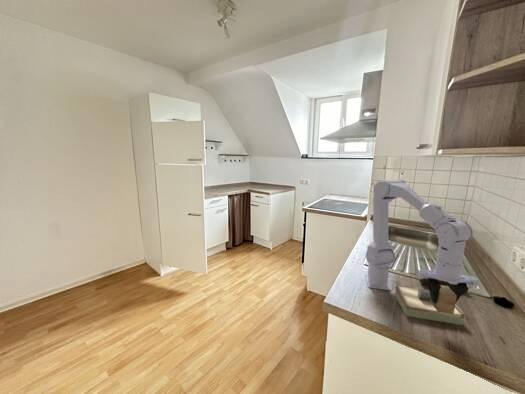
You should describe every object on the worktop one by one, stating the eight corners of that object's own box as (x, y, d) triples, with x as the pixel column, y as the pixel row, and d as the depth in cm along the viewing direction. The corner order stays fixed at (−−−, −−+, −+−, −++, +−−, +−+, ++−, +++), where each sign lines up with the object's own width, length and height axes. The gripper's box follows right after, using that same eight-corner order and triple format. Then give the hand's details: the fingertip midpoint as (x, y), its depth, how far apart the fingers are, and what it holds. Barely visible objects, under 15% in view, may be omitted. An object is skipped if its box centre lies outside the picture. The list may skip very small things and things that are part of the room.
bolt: (418, 287, 94) (460, 291, 90) (424, 288, 89) (468, 292, 86) (416, 273, 96) (457, 276, 92) (422, 273, 91) (465, 276, 87)
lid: (398, 288, 85) (399, 279, 85) (442, 295, 81) (443, 285, 81) (409, 309, 74) (410, 298, 73) (460, 317, 70) (462, 306, 69)
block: (430, 301, 71) (432, 284, 70) (444, 303, 70) (447, 286, 69) (437, 311, 66) (440, 293, 65) (453, 314, 65) (456, 295, 64)
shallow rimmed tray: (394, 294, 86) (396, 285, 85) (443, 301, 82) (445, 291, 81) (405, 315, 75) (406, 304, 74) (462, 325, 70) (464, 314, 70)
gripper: (426, 264, 63) (420, 306, 66) (488, 271, 59) (479, 316, 62) (416, 253, 70) (411, 292, 72) (472, 259, 66) (464, 300, 69)
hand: (442, 302), depth 68 cm, fingers closed on block, 4 cm apart
